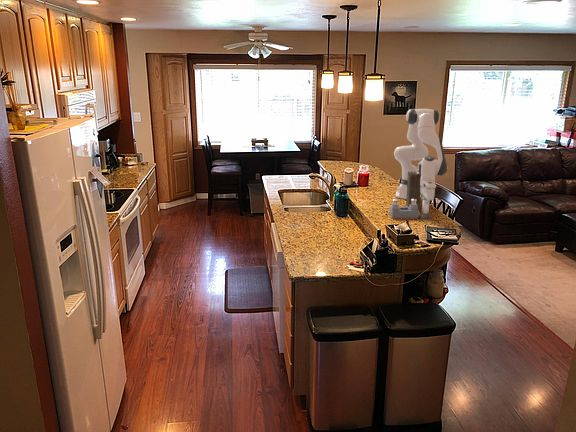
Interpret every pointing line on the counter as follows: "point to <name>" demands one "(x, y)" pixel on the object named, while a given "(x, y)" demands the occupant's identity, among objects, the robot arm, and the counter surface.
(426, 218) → the mat
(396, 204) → the plunger
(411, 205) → the plunger
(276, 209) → the counter surface
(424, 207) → the cartridge
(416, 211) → the housing
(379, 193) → the counter surface
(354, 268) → the counter surface
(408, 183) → the grey upright box
